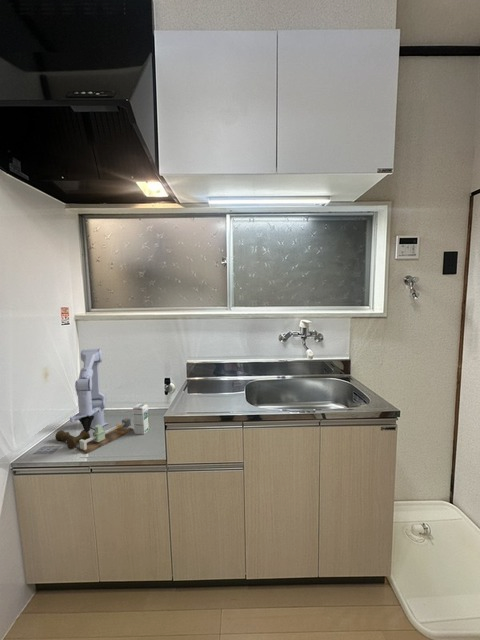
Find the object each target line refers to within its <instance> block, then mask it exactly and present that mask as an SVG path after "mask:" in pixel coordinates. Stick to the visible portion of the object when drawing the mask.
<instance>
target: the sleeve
mask: <svg viewBox="0 0 480 640" xmlns="http://www.w3.org/2000/svg"><path fill="white" fill-rule="evenodd" d="M94 427H95V429H94V431H93V432H92V437H93V436H95V435H96V438H95V439H93V441H96V442H100V441H102V440H104V439H105V431H106V430H104V428H103V426H102V425H99V424H98V425H96V426H94Z"/></svg>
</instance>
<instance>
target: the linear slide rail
mask: <svg viewBox="0 0 480 640" xmlns="http://www.w3.org/2000/svg"><path fill="white" fill-rule="evenodd" d="M131 421H132V419H131V418H128V417H125V418H123V419H122V420H121V423H118V424H116V425H115V426H113V427H110V428H109V429H106V430H104V431H105V434H107V433H109V432H111V431H113V430H115V429H117V428H120V427H122V426H123V427H124V428H125V429H128V428H130V426H132V422H131ZM95 438H96V435H95V436H93V435H92V436H90V438H89V439H86V440H83V439H81V440H79V441H80V442H79V446H80V448H81V449H83V450H86V449H87V442H89V441H91V440H93V439H95Z"/></svg>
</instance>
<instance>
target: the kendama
mask: <svg viewBox="0 0 480 640" xmlns="http://www.w3.org/2000/svg"><path fill="white" fill-rule="evenodd" d="M54 438H55V440H56V441H58V442H59V441H62V442H66V443H65V444H66V446H67V447H68V448H69V449H70V450H73V449H76V446H77V445H78V444H80V441H79V440H81V439H83V440H86V439H89V438H91V434H90V431H88V432H85V431H84V429H82V430H81V431H80V433H79V434H78V435H77V436H74V435H72V434H70V432H69V431H64V430H63V429H61V430H59V431H57V432H56V434H55V437H54Z"/></svg>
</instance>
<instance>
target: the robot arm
mask: <svg viewBox="0 0 480 640" xmlns="http://www.w3.org/2000/svg"><path fill="white" fill-rule="evenodd" d="M80 360H81V361H82V362H83V367H82V368H81V369H80V371H79V376H78V379H77V380H75V385H74V387H75V392H76V396H77V400H78V401H77V403H78V404H77V405H78V413H76V414H74V415H73V416H71V417H69V422H70V423H74V422H76V421H79V422H80V424H81V425H82V428H83V430H84V431H85V432H90V430H91V429H94V430H95V427H94V426H96V425H98V424H99V425H102V427H104V426H107V425H108V422H105V412H104V411H105V409H106V408H107V398H106V394H104V393H102V392H101V389H100V373H99V365H100V364H101V363H103V350H102V349H101V348H91V349H81V351H80Z"/></svg>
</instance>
